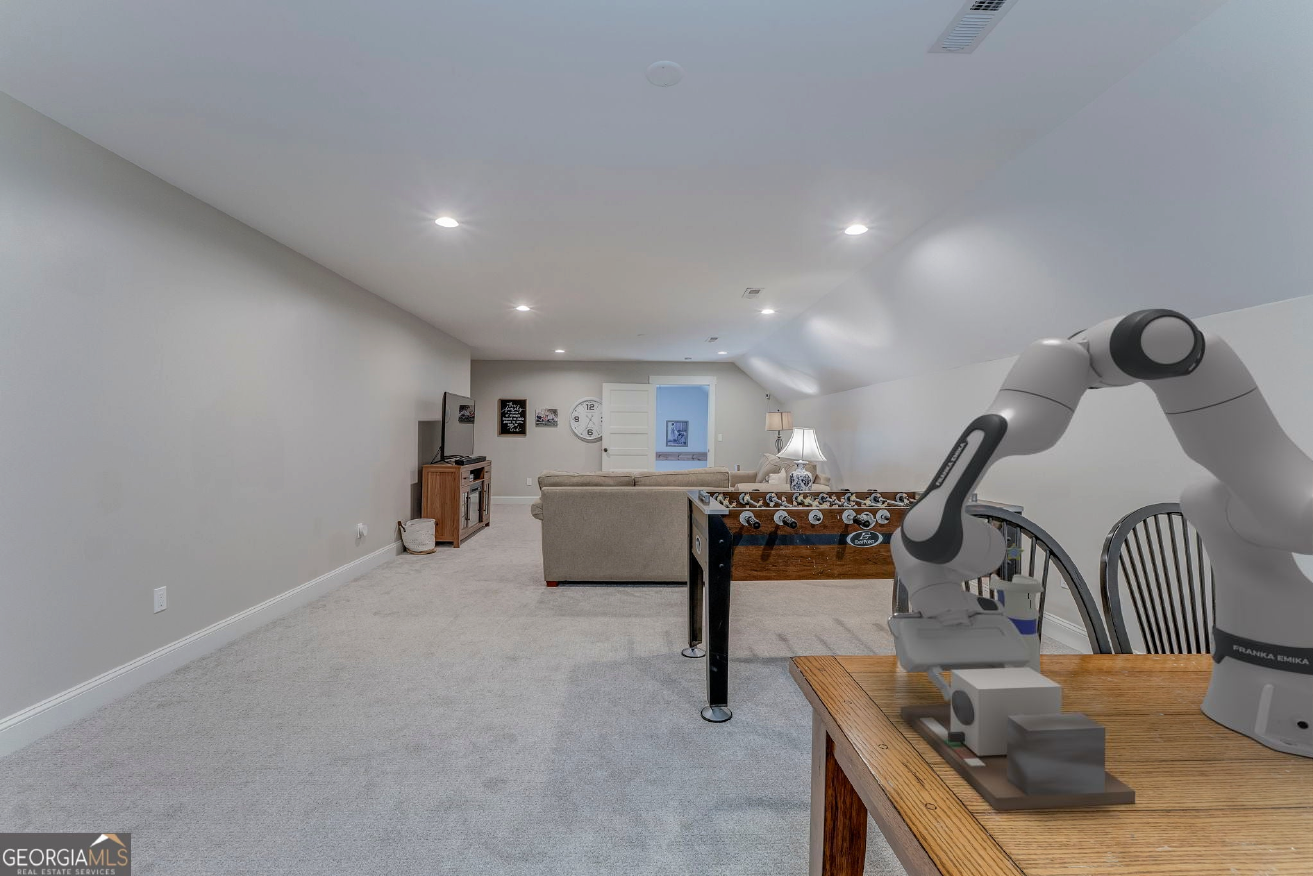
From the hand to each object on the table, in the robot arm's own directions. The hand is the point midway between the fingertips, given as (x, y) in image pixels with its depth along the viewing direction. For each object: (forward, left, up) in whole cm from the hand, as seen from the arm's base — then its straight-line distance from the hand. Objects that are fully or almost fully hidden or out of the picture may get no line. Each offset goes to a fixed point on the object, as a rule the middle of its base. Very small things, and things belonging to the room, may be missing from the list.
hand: (982, 698), depth 81 cm
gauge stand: (-3, +3, -6) cm, 7 cm away
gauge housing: (-3, +5, -4) cm, 7 cm away
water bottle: (-1, -24, -6) cm, 25 cm away
